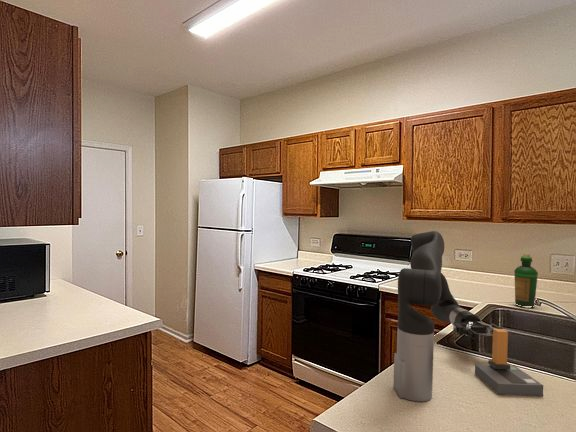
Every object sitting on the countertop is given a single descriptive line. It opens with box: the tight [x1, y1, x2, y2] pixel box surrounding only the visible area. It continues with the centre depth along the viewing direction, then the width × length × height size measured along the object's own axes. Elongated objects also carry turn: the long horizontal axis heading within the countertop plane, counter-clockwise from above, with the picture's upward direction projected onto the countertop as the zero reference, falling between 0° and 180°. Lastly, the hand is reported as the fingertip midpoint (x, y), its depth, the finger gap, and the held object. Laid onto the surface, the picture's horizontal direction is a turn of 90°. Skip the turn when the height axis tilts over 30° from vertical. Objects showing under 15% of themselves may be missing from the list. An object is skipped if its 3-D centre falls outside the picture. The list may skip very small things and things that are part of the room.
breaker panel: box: [474, 364, 544, 397], centre depth 104 cm, size 12×12×3 cm
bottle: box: [513, 253, 539, 308], centre depth 194 cm, size 11×11×28 cm
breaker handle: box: [487, 328, 511, 369], centre depth 107 cm, size 4×4×11 cm
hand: (489, 337), depth 113 cm, fingers open, 8 cm apart
